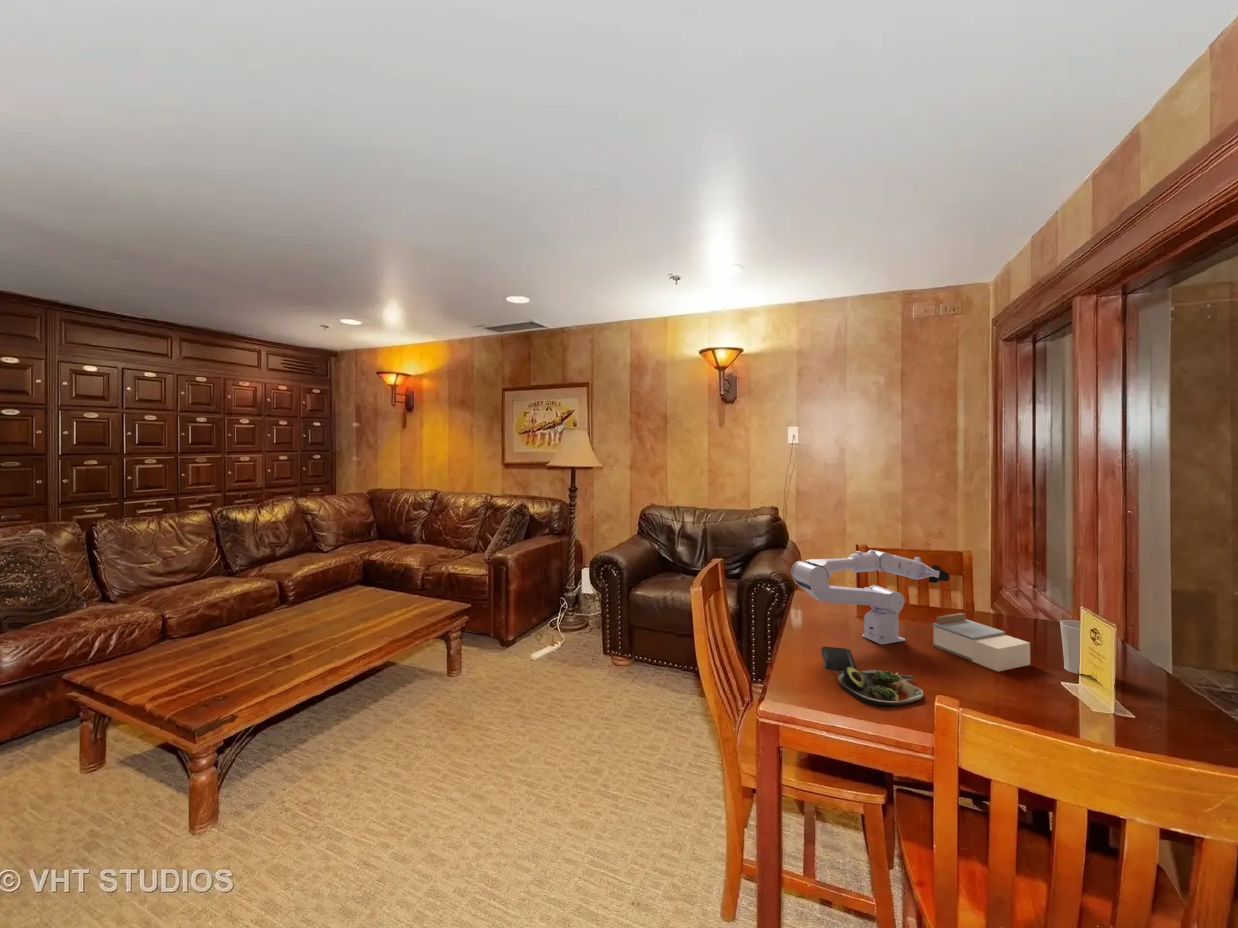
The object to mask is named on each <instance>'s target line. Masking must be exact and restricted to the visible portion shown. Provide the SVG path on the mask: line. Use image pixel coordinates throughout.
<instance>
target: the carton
mask: <svg viewBox="0 0 1238 928" xmlns="http://www.w3.org/2000/svg"><path fill="white" fill-rule="evenodd" d="M932 626H933V625H932ZM932 633H933V647H935V648H937V649H940V650H942V651H945V652H947V653H950V654H952V655H955V656H957V657H960V658H961V659H965V660H967V661H970V662H972V663H976V664H978V665H980V666H982V667H985V668H988V669H989V670H993V671H995V672H1003V671H1007V670H1012V669H1017V668H1021V667H1022V668H1023V667H1027V666H1030V665H1031V642H1030V641H1029V642H1028V641H1026V640H1023V639H1020V638H1016V637H1013V636H1011V635H1007V634H1005V633H1004V634H998V635H993V636H987V637H982V638H976V639H970V638H968V637H965V636H962V635H959V634H956V633H953V632H950V631H948V630H945V629H942V628H939V627H936V626H933V632H932Z"/></svg>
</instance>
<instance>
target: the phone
mask: <svg viewBox="0 0 1238 928" xmlns="http://www.w3.org/2000/svg"><path fill="white" fill-rule="evenodd" d="M821 655H822V660H823V665H824V669H825V670H828V671H835V672H836V671H845V669H846V668H847V667H853V668H855V669H857V667H856V664H855V661H854V657H853V654H852V652H851V650H850V649H849V648H845V647H844V648H841V647H834V646H833V647H831V646H822V647H821Z"/></svg>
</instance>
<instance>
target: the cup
mask: <svg viewBox="0 0 1238 928" xmlns="http://www.w3.org/2000/svg"><path fill="white" fill-rule="evenodd" d="M1080 621H1081V620H1072V619H1071V620H1070V619H1064V620H1063V619H1062V620H1060V621H1059V624H1060V634H1061V635H1060V636H1061V643H1062V653H1063V664H1064V665H1063V668H1064V670H1066V671H1068V672H1069V673H1072V674H1076V675H1079V674H1078V671H1079V656H1080Z"/></svg>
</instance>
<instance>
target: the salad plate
mask: <svg viewBox="0 0 1238 928" xmlns="http://www.w3.org/2000/svg"><path fill="white" fill-rule="evenodd" d="M834 673H836V674H837V675H838V677H837V682H838V684H839V685H840V687H841V689H842V690H844V691H845V692H847V693H848V694H849V695H851V696H853V697H854V698H856V699H857V700H858V701H860V702H863V703H866V704H867V705H872V706H874V707H875V706H876V707H882V708H883V707H884V708H885V707H888V708H889V707H890V708H891V707H896V706H898V707H899V706H900V705H906V704H910V703H913V702H915V701H918V700H921V699H922V698H923V697H924V696H925V695H924V691H923V690H922V689H921V688H920V687H918V686H916V685H914V684H912V683H910V682H908V681H911V680H914V679H915V678H914V676H913V675H907V674H906V675H905V674H899V672H898V671H896V672H895V673H892V672H891V671H890V670H888V671H886V670H879V669H878V670H877V669H869V670H863V671H860V670H858V669H857V668H856V669H855V668H853V667H847V668H846V669H845V671H836V670H835V671H834ZM898 692H902V693H906V694H907V698H906V699H904V700H899V695H898Z"/></svg>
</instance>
